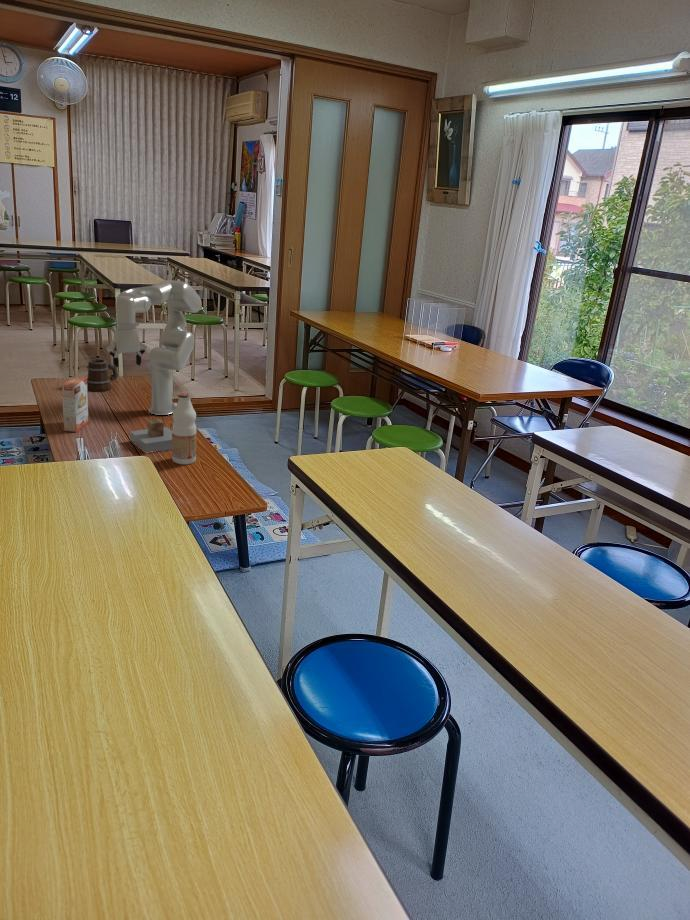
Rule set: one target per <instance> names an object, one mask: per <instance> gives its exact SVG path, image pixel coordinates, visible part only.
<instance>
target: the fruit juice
mask: <svg viewBox="0 0 690 920" xmlns="http://www.w3.org/2000/svg"><path fill="white" fill-rule="evenodd" d="M191 397H192V394H191V393H190V392H188V391H182V392H178V394H177V399H178V400H177V402H176V403H177V406H176V408H175V410H174V411H173V415H172V420H173V423H172V428H171V431H172V450H171V451H172V453H171V459H172V462H173V463H175V464H178V465H190V464H194V463H195V462H196V460H197V425H196V419H197V412H196V410H195V409H194V407H193V404H192V401H191Z"/></svg>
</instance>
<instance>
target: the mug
mask: <svg viewBox="0 0 690 920" xmlns="http://www.w3.org/2000/svg"><path fill="white" fill-rule="evenodd" d="M86 369H87V377H86V378H87V392H88V391H89V392H94V393H103V392H108V391H110V390H111V388H112V387H111V383H110V382H111V381H112V382H114V381H115V380H117V378H118V374H117V367H116V366H114V364H113V363H112V364H111V363H109V364H107V362H106V360H105V359H100V358H97V359H96V358H95V359H90V360H89V362H88V365H87V366H86ZM108 370H111V372H112V375H111V376H109V372H108Z"/></svg>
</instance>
